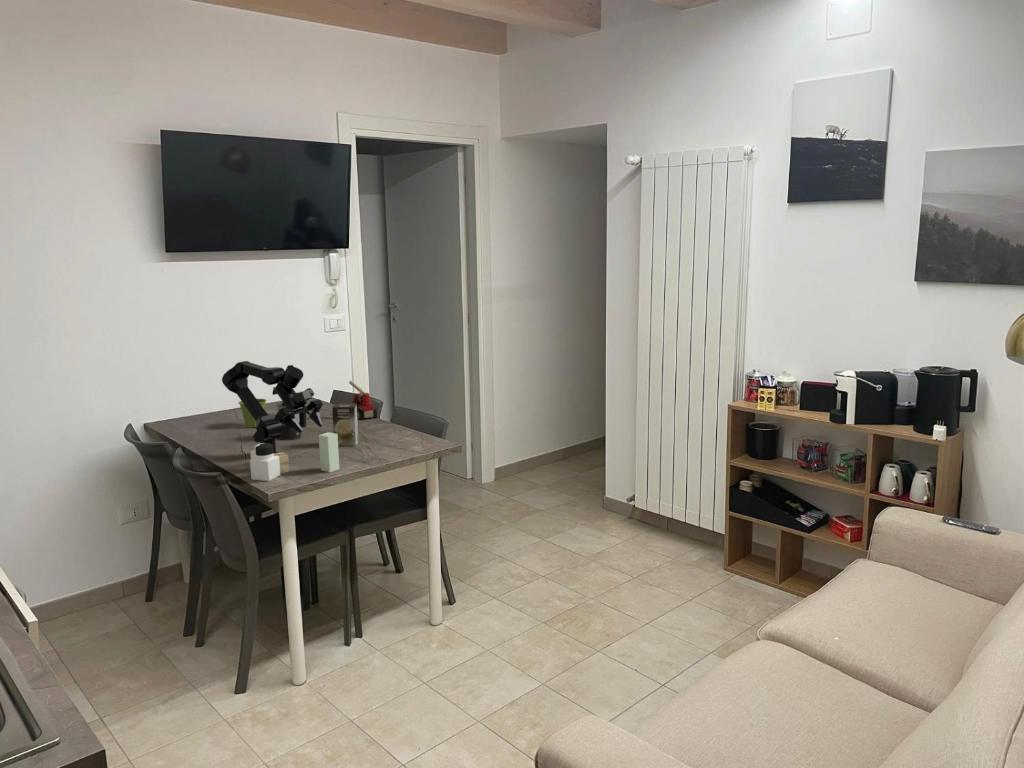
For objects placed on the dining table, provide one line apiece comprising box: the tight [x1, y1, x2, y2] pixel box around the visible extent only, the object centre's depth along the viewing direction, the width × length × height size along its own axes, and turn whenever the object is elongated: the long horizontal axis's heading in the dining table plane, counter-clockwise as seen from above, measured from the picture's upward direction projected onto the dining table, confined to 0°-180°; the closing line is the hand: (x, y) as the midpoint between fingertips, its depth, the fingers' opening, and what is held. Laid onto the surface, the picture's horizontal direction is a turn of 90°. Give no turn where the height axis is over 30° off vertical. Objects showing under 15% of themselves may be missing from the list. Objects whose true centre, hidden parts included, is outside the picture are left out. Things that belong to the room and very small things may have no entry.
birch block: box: [273, 451, 290, 474], centre depth 273 cm, size 5×5×6 cm
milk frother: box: [275, 400, 307, 441], centre depth 320 cm, size 14×16×15 cm
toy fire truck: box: [348, 380, 378, 421], centre depth 352 cm, size 11×16×18 cm
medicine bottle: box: [249, 443, 281, 482], centre depth 265 cm, size 7×7×12 cm
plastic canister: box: [249, 448, 256, 460], centre depth 275 cm, size 5×5×7 cm
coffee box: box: [331, 403, 359, 447], centre depth 306 cm, size 9×6×16 cm
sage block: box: [318, 431, 340, 473], centre depth 273 cm, size 5×5×13 cm
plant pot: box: [237, 398, 267, 429], centre depth 337 cm, size 12×12×11 cm
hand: (311, 429), depth 277 cm, fingers open, 9 cm apart
